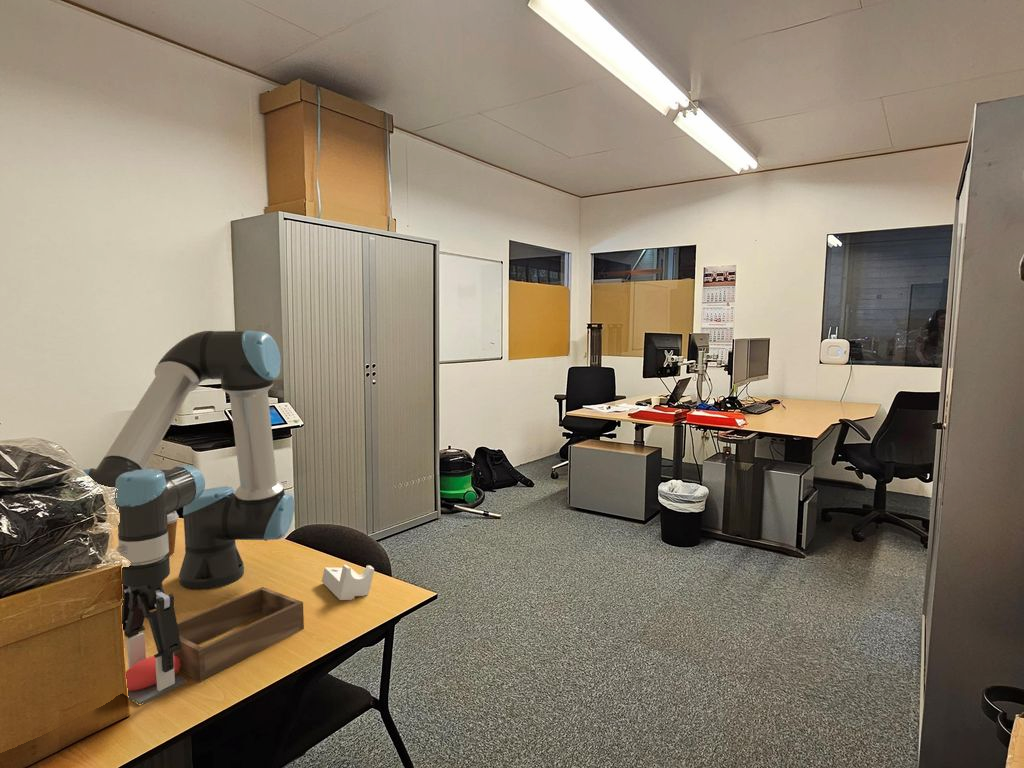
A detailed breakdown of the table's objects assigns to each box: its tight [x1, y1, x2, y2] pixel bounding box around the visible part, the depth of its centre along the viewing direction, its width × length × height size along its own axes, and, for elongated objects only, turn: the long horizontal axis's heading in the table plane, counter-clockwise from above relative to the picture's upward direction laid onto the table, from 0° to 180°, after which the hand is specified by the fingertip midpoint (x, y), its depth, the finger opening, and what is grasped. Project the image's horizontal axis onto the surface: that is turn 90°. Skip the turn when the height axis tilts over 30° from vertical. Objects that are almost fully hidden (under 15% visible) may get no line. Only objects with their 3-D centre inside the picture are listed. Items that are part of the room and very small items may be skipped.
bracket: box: [321, 564, 375, 601], centre depth 148 cm, size 13×7×8 cm, turn 37°
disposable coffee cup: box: [167, 510, 180, 557], centre depth 169 cm, size 10×10×12 cm
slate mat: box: [128, 673, 187, 705], centre depth 107 cm, size 8×8×1 cm
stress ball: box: [125, 655, 181, 691], centre depth 107 cm, size 5×9×6 cm, turn 125°
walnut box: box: [173, 586, 305, 682], centre depth 122 cm, size 14×23×6 cm, turn 148°
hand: (151, 677), depth 107 cm, fingers open, 9 cm apart
